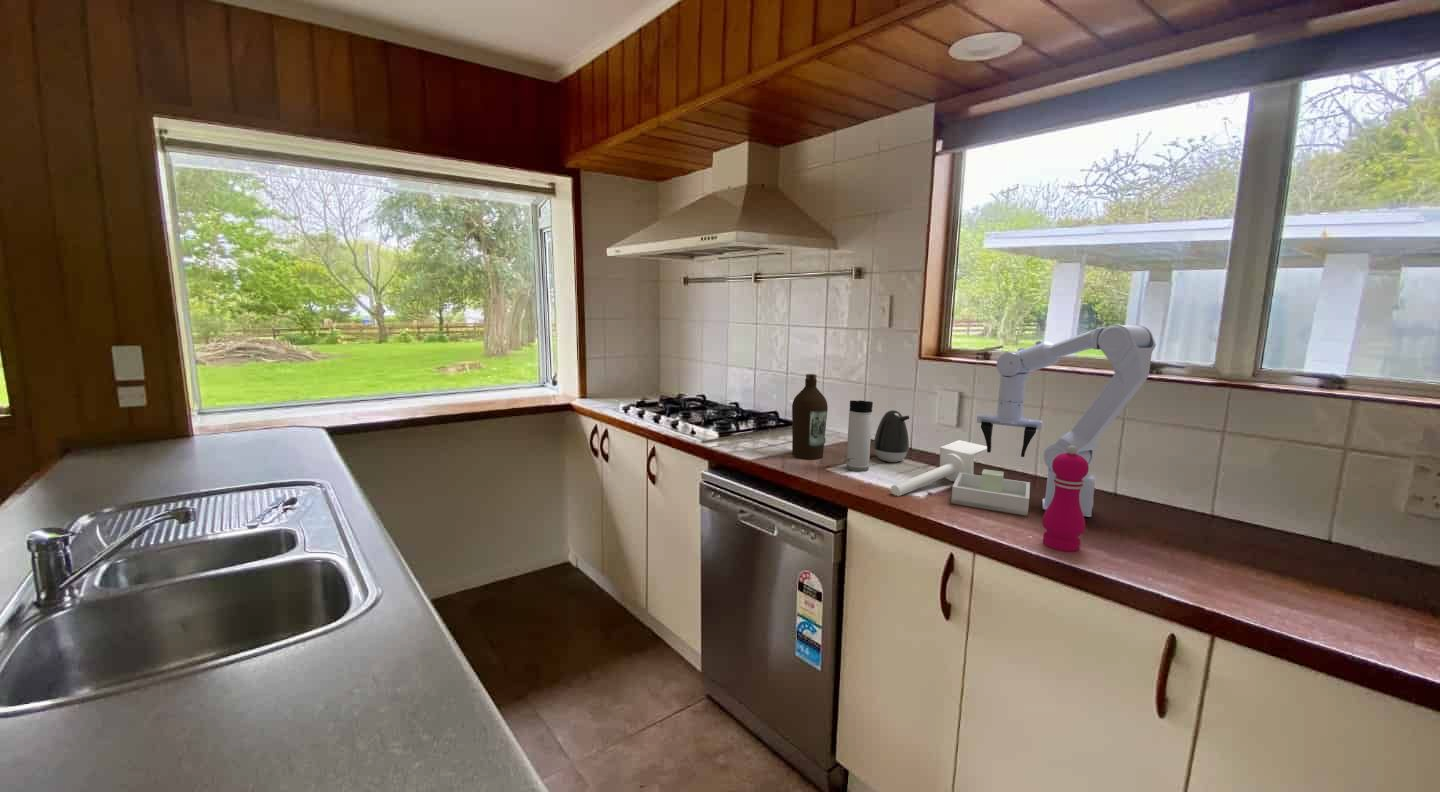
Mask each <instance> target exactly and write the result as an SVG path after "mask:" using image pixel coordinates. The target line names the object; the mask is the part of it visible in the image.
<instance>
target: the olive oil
mask: <svg viewBox="0 0 1440 792" xmlns="http://www.w3.org/2000/svg"><path fill="white" fill-rule="evenodd" d="M817 380H818V379H817V374H815V373H814V374H813V373H807V374H805V379H804V381H805V383H804V387H803V389H801V391H799V392H798V394H796V396H795V397H794V399H793V401H792V404H791V405H792V406H791V421H792V424H791V425H792V427H791V429H792V431H791V432H792V435H791V437H792V440H791V442H792V446H791V447H792V449H791V451H792V452H791V454H792V457H794V458H797V459H801V460H819V459H822V458H823V457H824V451H825V444H826V428H827V427H826V426H827V419H828V409H829V408H828V401H827V399H826V397H825V396H824V395H823V394H822V392H821V391H820V390H819V389H818V388H817V382H818V381H817Z"/></svg>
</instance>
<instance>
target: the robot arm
mask: <svg viewBox="0 0 1440 792" xmlns="http://www.w3.org/2000/svg"><path fill="white" fill-rule="evenodd" d="M1156 346H1157V343H1156V342H1155V339H1154V336H1153V334H1152V332H1151V330H1150V329H1149V328H1148V327H1147V326H1145V325H1142V324H1129V325H1125V324H1123V325H1122V324H1110V325H1108V326H1106V327H1098V328H1095V329H1091V330H1089V331H1087V332H1084V333H1081V334H1078V335H1075V336H1072V337H1069V338H1067V339H1065V340H1062V341H1060V342H1057V343H1053V342H1051V341H1049V340H1048V341H1045V340H1038V341H1036V342H1035V344H1034V345H1031V346H1029V347H1026V348H1025V347H1020V348H1018V349H1017V351H1016V352H1012V351H1006V352H1004V353H1003V354H1001V355H1000V356H999V357H998V358H997V361H996V368H997V371H998V373H999V374H1000V377H999V389H998V398H997V399H998V400H997V411H996V415H993V414H989V415H988V414H979V413H978V414H977V416H976V423H977V424H980V429H981V431H982V433H983V436H984V439H985V444H986V445H985V446H987V451H986V453H989V454H990V453H991V452H992V438H993V437H992V436H993V426H994V425H998V426H1007V427H1015V428H1016V427H1017V428H1018V427H1019V428H1024V432H1023V441H1022V449H1021V453H1020V457H1021V458H1024V457H1026V456H1025V455H1026V451H1027V448H1028V446H1029V444H1030V442H1031V441H1032V439H1033V438H1034V436H1035V434H1036V431H1037V430H1040V431H1041V430H1042V426H1043V420H1038V419H1030V418H1024V417H1023V412H1024V406H1025V405H1024V402H1025V395H1026V385H1027V384H1026V383H1027V380H1028V375H1029V374H1030V373H1031V372H1035V371H1037V370H1040V369H1044V368H1048V367H1051V366H1054V365H1057V363H1058V362H1059V360H1060V358H1061V357H1066V356H1069V355H1072V354H1077V353H1080V352H1084V351H1088V350H1091V349H1093V350H1096V351H1097V350H1100V351H1101V352H1102V353H1103V354H1104V356H1105V357H1106V358H1107V360H1108V361H1109V362H1110V364H1111V365H1112V368H1113V372H1114V374H1113V375H1112V377H1111V378H1109V381H1108V382H1107V383H1106V385H1105V386H1104V387H1103V388H1102V390H1101V391H1100V392H1099V393H1098V395H1097V397H1095V399H1094V400H1093V401H1092V402H1091V404H1090V405H1089V407H1088V408H1087V409H1086V410H1085V412H1084V413H1083V414H1082V415H1081V417H1080V418H1079V420H1078V421H1077V422H1076V423H1075V425H1074V426H1073V427H1072V428H1071V430H1070V431H1068V432H1067V433H1065V434H1064V435H1062V436H1061V437H1060V438H1058V440H1057V441H1056V442H1055V443H1053V444H1051V445H1049V446H1047V448H1045V450H1044V453H1043V461H1044V463H1045V465H1046V466H1047V478H1046V479H1047V480H1046V488H1045V495H1044V496H1045V497H1044V498H1042V509H1043V510H1044V511H1046V509H1047V508H1048V506H1049V505H1050V503H1051V502H1052V499H1053V497H1054V493H1055V484H1054V483H1053V481H1054V476H1056V474H1055V473H1054V471H1053V469H1052V463H1053V460H1054V459H1055V457H1056V456H1058V455H1060V454H1063V453H1068V452H1067V448H1068V447H1069V446H1075V447H1076V448H1077V450H1078V451H1077V453H1076V454H1077V455H1080V456H1082V457H1083V458H1084V459H1085V460H1086V461H1087V463H1088V466H1089V465H1091V463H1092V462H1093V457H1094V453H1095V451H1096V449H1098V444H1097V441H1098V440H1099V438H1100V437H1101V436H1102V435H1103V433H1105V431H1106V430H1107V429H1108V427H1109V426H1110V425H1111V424H1112V422H1114V420H1115V419H1116V418H1117V416H1118V415H1119V414H1120V413H1121V412H1122V410H1123V409H1124V408H1125V407H1126V405H1127V404H1128V403H1129V402H1130V401H1131V399H1132V398H1133V396H1134V395H1135V394H1136V393H1137V392H1138V390H1139V389H1140V388H1141V387H1142V385H1144V383H1145V382H1146V380H1147V379H1148V377H1149V375H1150V368H1151V361H1152V355H1153V351H1154V350H1155V347H1156ZM1082 480H1083V481H1084V483H1083V488H1082V489H1080V494H1079V502H1080V507H1081V510H1082V513H1083V516H1084V517H1088V518H1091V517H1092V512H1093V511H1092V509H1093V507H1094V495H1095V484H1096V476H1095V475H1093V474H1089V473H1087V475H1086V476H1085V477H1084V478H1083V479H1082Z"/></svg>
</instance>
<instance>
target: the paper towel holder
mask: <svg viewBox="0 0 1440 792" xmlns="http://www.w3.org/2000/svg"><path fill="white" fill-rule="evenodd" d="M939 449H940V450H939V467H936V468H934V469H933V468H932V469H931V470H929V471H926V472H923V473H920V474H919V475H916V476H914V477H911V478H909V479H908V478H907V479H906V480H903V481H901V482H898V483H896V484H894V485H892V486H891V488H890V492H891V494H892V495H893V494H894V495H893V496H896V495H897V497H900V496H902V495H905V494H908V493H909V492H913V491H915V490H917V489H920V488H922V487H925V486H927V485H930V484H931V483H934V482H936V481H939V480H941V479H943V478H944V477H945V479H947V480H948V481H951V482H955V481H956V479H957V476H958V474H959V472H960V473H967V474H974V475H975V473H974V471H975V469H974V467H975V466H974V462H975V461H974V460H975V456H977V455H979V454H982V453H984V452H987V445H983V444H978V443H975V442H970V441H965V440H960V439H958V440H956V441H953V442H951V443H948V444H945V445H943V446H940V447H939Z"/></svg>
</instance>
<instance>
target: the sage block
mask: <svg viewBox="0 0 1440 792" xmlns="http://www.w3.org/2000/svg"><path fill="white" fill-rule="evenodd" d="M1004 472H1005V471H1001V470H992V469H986V468H983V469H982V471H981V476H982V477H981V488H980V490H983V491H989V492H996V493H1002V485H1003V479H1004V476H1005V475H1004V474H1005V473H1004Z"/></svg>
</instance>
